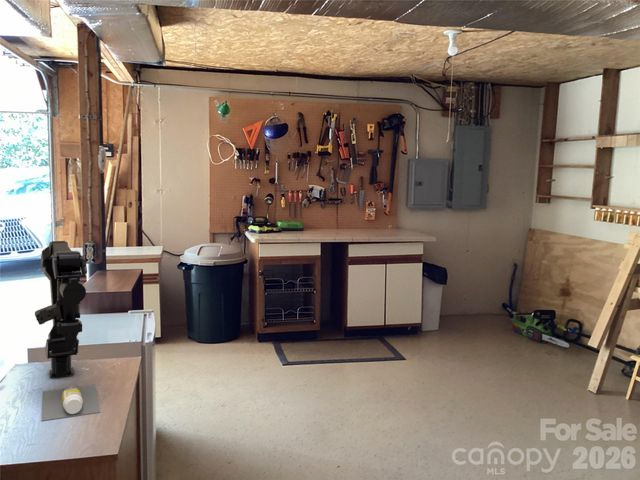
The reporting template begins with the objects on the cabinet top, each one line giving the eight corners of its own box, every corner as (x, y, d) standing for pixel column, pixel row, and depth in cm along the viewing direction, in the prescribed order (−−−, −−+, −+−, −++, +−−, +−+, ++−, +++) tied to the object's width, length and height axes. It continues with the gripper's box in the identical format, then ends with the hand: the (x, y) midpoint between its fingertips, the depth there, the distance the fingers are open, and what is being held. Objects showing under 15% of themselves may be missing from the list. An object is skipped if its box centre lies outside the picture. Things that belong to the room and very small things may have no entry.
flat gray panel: (42, 391, 151) (42, 391, 151) (95, 385, 158) (95, 384, 158) (41, 421, 134) (41, 420, 134) (100, 412, 140) (100, 411, 140)
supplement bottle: (71, 406, 145) (73, 419, 138) (57, 397, 143) (59, 409, 135) (84, 392, 146) (87, 404, 139) (71, 383, 144) (73, 394, 137)
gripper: (37, 290, 153) (38, 342, 155) (35, 305, 137) (36, 363, 139) (79, 288, 158) (79, 338, 160) (82, 302, 142) (82, 358, 144)
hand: (69, 348), depth 150 cm, fingers closed
